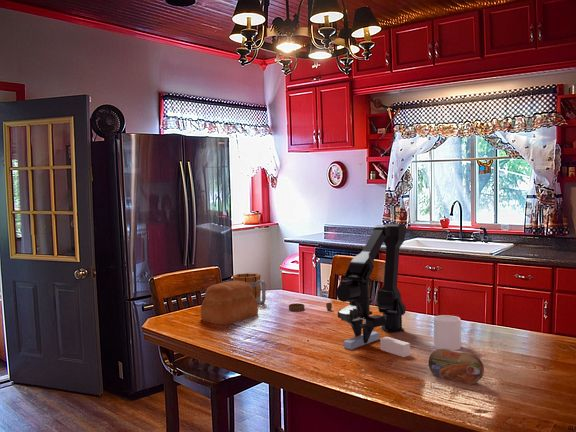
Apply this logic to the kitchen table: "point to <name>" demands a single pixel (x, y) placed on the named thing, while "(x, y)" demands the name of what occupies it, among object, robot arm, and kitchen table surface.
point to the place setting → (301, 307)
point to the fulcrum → (395, 346)
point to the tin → (456, 366)
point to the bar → (360, 340)
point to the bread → (228, 303)
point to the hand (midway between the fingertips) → (361, 341)
